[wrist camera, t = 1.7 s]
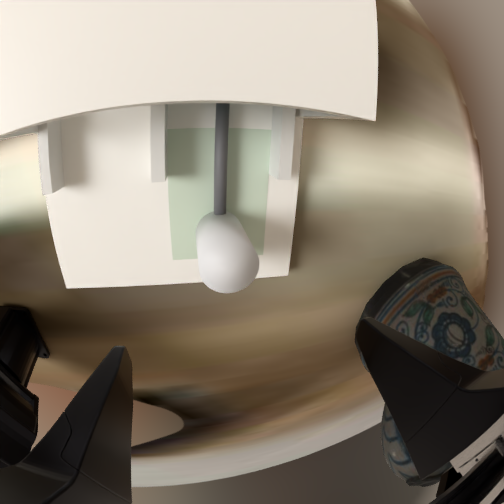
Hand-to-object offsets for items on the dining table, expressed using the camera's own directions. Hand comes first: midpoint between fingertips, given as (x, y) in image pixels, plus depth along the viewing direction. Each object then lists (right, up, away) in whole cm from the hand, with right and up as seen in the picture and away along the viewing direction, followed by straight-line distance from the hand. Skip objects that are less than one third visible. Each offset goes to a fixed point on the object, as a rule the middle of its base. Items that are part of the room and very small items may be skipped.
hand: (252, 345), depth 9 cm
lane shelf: (-6, +11, +7) cm, 14 cm away
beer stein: (+18, -5, +21) cm, 28 cm away
